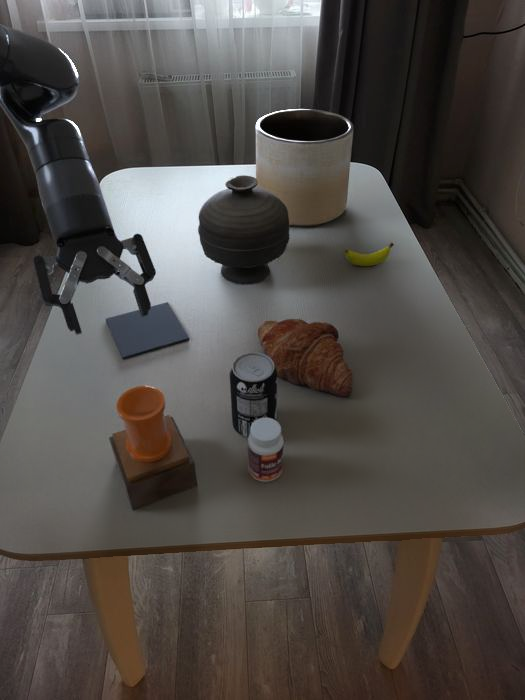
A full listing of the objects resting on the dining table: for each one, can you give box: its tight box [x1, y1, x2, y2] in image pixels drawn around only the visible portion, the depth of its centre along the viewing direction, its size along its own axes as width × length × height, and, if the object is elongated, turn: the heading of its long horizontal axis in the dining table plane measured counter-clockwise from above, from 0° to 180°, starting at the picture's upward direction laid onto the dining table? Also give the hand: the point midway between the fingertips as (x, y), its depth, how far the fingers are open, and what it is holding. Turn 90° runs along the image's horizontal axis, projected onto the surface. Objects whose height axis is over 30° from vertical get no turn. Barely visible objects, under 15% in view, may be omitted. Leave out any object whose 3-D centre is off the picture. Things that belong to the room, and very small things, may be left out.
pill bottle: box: [247, 418, 285, 483], centre depth 74 cm, size 5×5×8 cm
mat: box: [105, 301, 190, 360], centre depth 100 cm, size 12×12×1 cm
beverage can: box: [229, 351, 278, 439], centre depth 79 cm, size 7×7×12 cm
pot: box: [197, 174, 291, 286], centre depth 109 cm, size 18×18×20 cm
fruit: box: [344, 242, 395, 267], centre depth 115 cm, size 10×2×5 cm, turn 97°
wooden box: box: [108, 414, 198, 511], centre depth 75 cm, size 9×9×6 cm
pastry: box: [257, 318, 354, 398], centre depth 91 cm, size 17×15×8 cm
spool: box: [116, 385, 172, 462], centre depth 70 cm, size 6×6×8 cm
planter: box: [255, 108, 354, 227], centre depth 130 cm, size 22×22×20 cm
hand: (112, 324), depth 71 cm, fingers open, 8 cm apart
